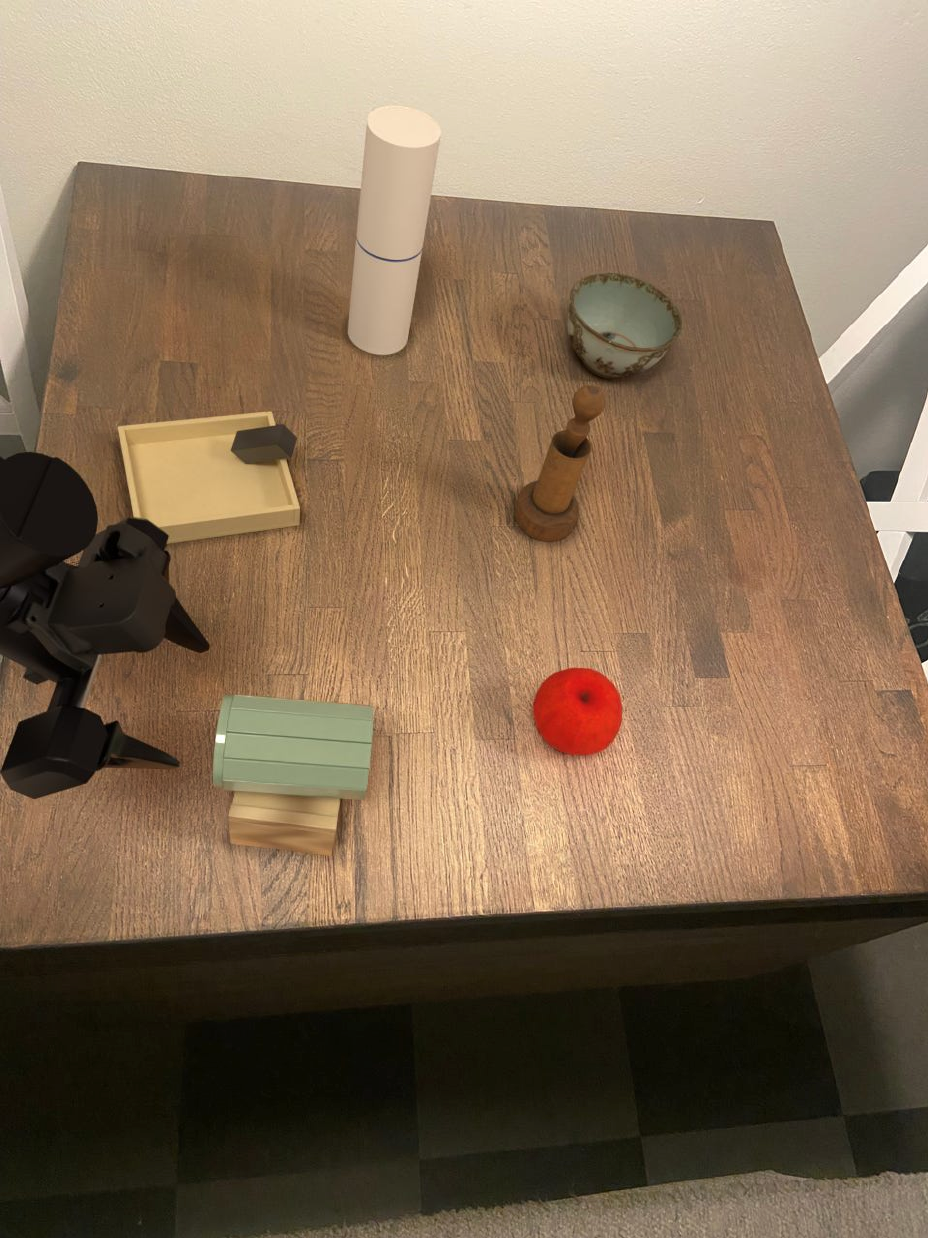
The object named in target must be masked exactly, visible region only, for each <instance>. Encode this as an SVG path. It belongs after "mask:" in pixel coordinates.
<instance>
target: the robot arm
mask: <svg viewBox="0 0 928 1238" xmlns="http://www.w3.org/2000/svg"><path fill="white" fill-rule="evenodd" d="M98 523H99V515H98V507H97V504H96V500H95V498H94V495H93V494H92V491H91V489H90V487H89V486H88V484H87V482H86V481H85V479H83V477H82V476H81V475H80V474H79V472H78V471H77V470H75V469H74V468H73V467H72V466H71V465H70V464H69V463H67V462H66V461H64V460H63V459H61V458H59V457H57V456H54V457H52V456H49V455H47V454H44V453H41V452H35V451H24V452H17V453H15V454H12V455H10V456H8V457H7V458H3V457H2V456H0V655H1V656H2V657H5V658H6V659H8V660H10V661H12V662H14V663H16V664H17V665H20V666H22V667H24V668H25V671H24V674H23V677H22V678H23V679H24V680H27V681H28V682H30V683H32V684H34V685H37V686H38V685H40V684H42V683H46V682H48V681H51V682H52V683H55V684H56V685H55V687H54V689H53V693H52V695H51V698H50V701H49V703H48V707H47V709H46V710H45V711H43V712H41V713H38V714H36V715H35V714H34V715H33V716H30V717H28V718H27V717H26V718H25V719H22V720H20V721H18V723H17V726H16V728H15V731H14V734H13V737H12V739H11V741H10V744H9V747H8V749H7V752H6V755H5V757H4V759H3V762H2V765H1V768H0V776H1V777H2V780H3V781H4V782H5V784H6V785H7V787H8V788H9V789H10V791H13V792H14V793H15V792H16V793H18V794H20V795H21V796H22V795H23V796H25V797H27V798H29V799H33V800H38V799H40V798H41V799H42V798H44V797H47V796H50V795H53V794H57V793H60V792H63V791H67V790H70V789H74V788H77V787H79V786H84V785H87V784H88V782H89V781H90V780H91V779H92V778H93V776H94V775H95V774H96V772H99V771H101V770H103V769H133V770H134V769H135V770H159V771H160V770H162V771H170V770H174V769H175V770H176V769H178V768H179V767H180V765H181V761H180V760H179V759H177V758H176V757H174V756H173V755H171V754H170V753H168V752H167V751H164V750H162V749H160V748H158V747H155V746H153V745H151V744H148V743H146V742H144V741H142V740H139V739H137V738H136V737H133V736H131V735H128V734H126V733H125V732H124V730H123V728H122V726H121V723H120V721H119V720H118V719H117V720H113V721H110V722H107V723H105V724H104V721H103V719H102V717H101V715H100V714H97V713H96V712H94V711H92V710H89V709H88V708H86V704H87V702H88V698H89V695H90V692H91V691H92V687H93V684H94V680H95V678H96V674H97V672H98V668H99V666H100V663H101V660H102V657H103V655H111V654H112V655H113V654H123V653H138V654H145V653H148V652H151V651H154V650H155V649H156V648H158V647H160V645H161V644H162V642H163V640H167V641H169V642H171V643H173V644H175V645H176V646H179V647H181V648H184V649H186V650H189V651H192V652H195V653H197V654H204V653H206V652H209V651H210V648H211V644H210V642H209V641H208V639H206V637H205V636H204V634H203V633H202V631H201V630H200V629H199V627H198V626H197V624H196V623H195V622H194V620H193V619H192V618H191V616H190V615H189V613H188V612H187V611H186V609H185V608H184V607H183V605H182V604H181V603H180V601H179V599H178V598H177V593H176V590H175V588H174V587H173V586H172V585H171V584H170V563H171V553H170V552H169V551H168V550H166V547H167V545H168V544H167V541H168V538H169V535H168V534H167V533H166V532H165V531H163V530H162V529H161V528H159V527H158V526H156V525H155V524H154V523H152V522H151V521H149V520H148V519H144V518H138V517H134V516H131V517H127V518H125V519H122V520H120V521H118V522H117V523H115V524H109V525H107V526H106V528H105V529H103V530H101V531H99V532H97V530H98ZM80 553H81V556H80V558H79V561H78V564H77V565H75V564H72V563H67V562H65V561H66V560H68V559H70V558H73V557H74V556H76V555H78V554H80Z"/></svg>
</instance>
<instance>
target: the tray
mask: <svg viewBox="0 0 928 1238" xmlns="http://www.w3.org/2000/svg"><path fill="white" fill-rule="evenodd" d="M274 425H277V424H276V421H275V418H274V414H273V412H272V411H270V410H269V411H260V412H250V413H239V414H238V413H237V414H230V415H219V416H218V415H217V416H209V417H198V418H189V419H177V420H167V421H158V422H147V423H137V424H128V425H127V424H126V425H118V426H117V431H118V437H119V443H120V449H121V454H122V459H123V465H124V471H125V476H126V481H127V487H128V493H129V498H130V504H131V510H132V517H138V518H144V519H148V520H149V521H151V522H152V523H154V524H155V525H156V526H158V527H159V528H161V529H162V530H163V531H165V532H166V533H167V534H168V535H169V538H168V541H167V544H166V545H168V544H176V543H184V542H190V541H197V540H204V539H212V538H219V537H227V536H235V535H241V534H249V533H254V532H263V531H269V530H270V531H271V530H277V529H283V528H290V527H291V528H292V527H298V526H300V521H301V520H300V519H301V506H300V503H299V500H298V496H297V493H296V489H295V486H294V482H293V478H292V476H291V471H290V469H289V466H288V461H287V458H286V459H278V460H270V461H262V462H255V463H247V464H245V463H244V462H243V461H242V460H240V459H239V458H238V457H237V456H236V455H235V454H234V453H233V452H231V447H232V444H233V441H234V438H235V435H236V433H237V431H241V430H247V429H254V428H261V427H267V426H274Z"/></svg>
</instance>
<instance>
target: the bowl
mask: <svg viewBox="0 0 928 1238" xmlns="http://www.w3.org/2000/svg"><path fill="white" fill-rule="evenodd" d="M567 313H568V314H567V321H566V323H567V333H568V338H569V340H570V343H571V346H572V348H573V349H574V351H575V353H576V355H577V356H578V357H579V359H580V360H582V363H583V364H584V366H585V367H586V369H588V371H589V372H590V373H592V374H594V375H595V376H598V377H600V378H605V379H619V378H621V377H628V376H633V375H637V374H639V373H643V372H645V371H647V370H649V369H650V368H652V367H653V366H654V365H656V364H657V363H658V362H659V361H660V360H661V359H663V358H664V356H665V355H666V353H667V352H668V350H669V349H670V347H671V346H672V345H673V344H674V343H675V342H676V341H677V340H678V338H679V336H680V335H681V332H682V329H683V319H682V315H681V313H680V310H679V309H678V307H677V306H676V305H675V303H674V301H673V300H672V299H671V298H670V297H669V296H667V295H666V294H665V293H664V292H663V291H662V290H660V289H659V288H658V287H656V286H655V285H653V284H652V283H649V282H647V281H645V280H643V279H641V278H638V277H635V276H632V275H627V274H623V273H618V272H603V273H602V272H601V273H595V274H590V275H587V276H585V277H583V278H581V279H579V280H578V281H577V282H575V283H574V285H573V287H572V288H571V290H570V295H569V307H568V311H567Z"/></svg>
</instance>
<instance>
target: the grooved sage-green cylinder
mask: <svg viewBox="0 0 928 1238" xmlns="http://www.w3.org/2000/svg"><path fill="white" fill-rule="evenodd" d="M219 708H220V709H219V712H218V717H217V718H218V719H217V725H216V731H215V739H214V747H213V748H214V749H213V760H212V785H213V788H214V789H218V790H223V791H229V792H230V791H231V792H232V791H233V792H235V791H244V792H258V793H272V794H286V795H301V796H315V797H329V798H340V799H343V800H344V799H346V800H358V801H359V800H360V801H364V800H365V799H366V794H367V791H368V790H367V789H368V783H369V776H370V767H371V759H372V758H371V757H372V749H373V748H372V747H373V734H374V733H373V732H374V706H373V705H371V704H370V705H369V704H361V703H360V704H357V703H347V702H337V701H336V702H335V701H326V700H325V701H324V700H312V699H300V698H290V697H289V698H288V697H279V696H278V697H277V696H264V695H254V694H242V693H224V695H223V697H222V700H221V704H220V707H219Z"/></svg>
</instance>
